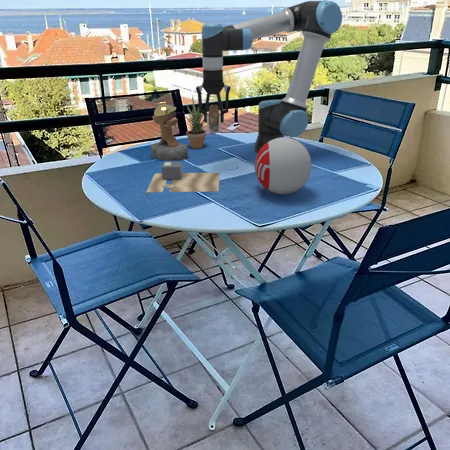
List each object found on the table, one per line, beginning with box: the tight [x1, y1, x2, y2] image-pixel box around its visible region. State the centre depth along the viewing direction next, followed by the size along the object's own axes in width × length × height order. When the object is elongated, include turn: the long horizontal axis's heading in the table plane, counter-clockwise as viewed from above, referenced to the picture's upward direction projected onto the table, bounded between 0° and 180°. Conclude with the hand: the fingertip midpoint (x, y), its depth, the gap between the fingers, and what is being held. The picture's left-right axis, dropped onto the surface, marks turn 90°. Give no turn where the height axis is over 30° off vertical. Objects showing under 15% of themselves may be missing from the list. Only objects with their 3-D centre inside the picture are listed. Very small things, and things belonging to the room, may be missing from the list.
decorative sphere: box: [254, 136, 312, 195], centre depth 159 cm, size 20×20×20 cm
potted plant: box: [185, 96, 207, 149], centre depth 212 cm, size 10×10×25 cm
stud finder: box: [161, 161, 183, 181], centre depth 175 cm, size 7×6×5 cm
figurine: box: [150, 101, 189, 162], centre depth 198 cm, size 14×11×25 cm
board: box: [145, 172, 221, 197], centre depth 171 cm, size 26×20×2 cm
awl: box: [208, 104, 220, 134], centre depth 176 cm, size 4×4×10 cm
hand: (214, 130), depth 178 cm, fingers closed on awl, 4 cm apart
